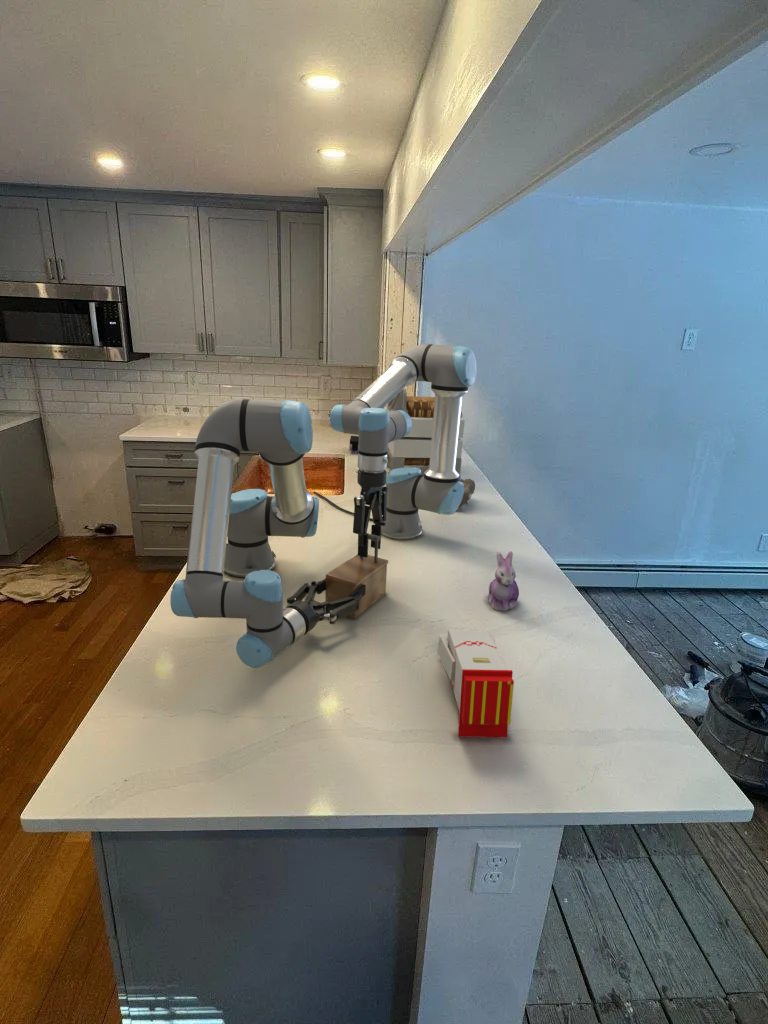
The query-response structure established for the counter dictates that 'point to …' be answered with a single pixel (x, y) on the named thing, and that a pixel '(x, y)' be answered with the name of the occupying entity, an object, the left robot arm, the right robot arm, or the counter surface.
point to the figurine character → (354, 444)
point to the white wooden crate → (417, 433)
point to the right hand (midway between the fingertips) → (369, 551)
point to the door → (358, 567)
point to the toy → (478, 682)
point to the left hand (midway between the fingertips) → (348, 584)
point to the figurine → (503, 584)
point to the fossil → (467, 491)
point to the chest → (342, 590)
